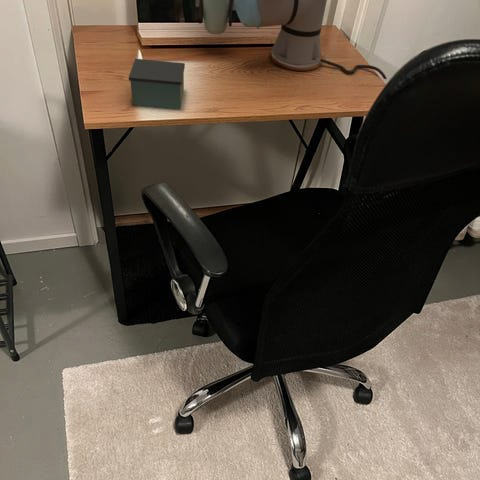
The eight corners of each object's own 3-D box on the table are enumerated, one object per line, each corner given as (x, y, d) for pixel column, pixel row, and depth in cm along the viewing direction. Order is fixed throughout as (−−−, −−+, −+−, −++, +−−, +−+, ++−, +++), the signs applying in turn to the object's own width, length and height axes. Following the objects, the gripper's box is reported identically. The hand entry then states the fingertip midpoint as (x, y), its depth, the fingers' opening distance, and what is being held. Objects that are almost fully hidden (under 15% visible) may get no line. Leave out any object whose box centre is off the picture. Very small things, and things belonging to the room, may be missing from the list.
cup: (225, 39, 134) (227, -2, 126) (199, 34, 134) (199, -6, 126) (230, 29, 139) (233, -10, 131) (205, 25, 139) (206, -15, 131)
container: (185, 90, 124) (184, 63, 118) (181, 110, 117) (181, 82, 112) (137, 86, 123) (135, 58, 117) (131, 105, 116) (128, 77, 111)
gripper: (255, -51, 134) (250, 32, 136) (183, -59, 132) (179, 26, 135) (257, -70, 126) (252, 18, 128) (181, -78, 125) (177, 11, 127)
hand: (215, 22), depth 131 cm, fingers closed on cup, 8 cm apart
